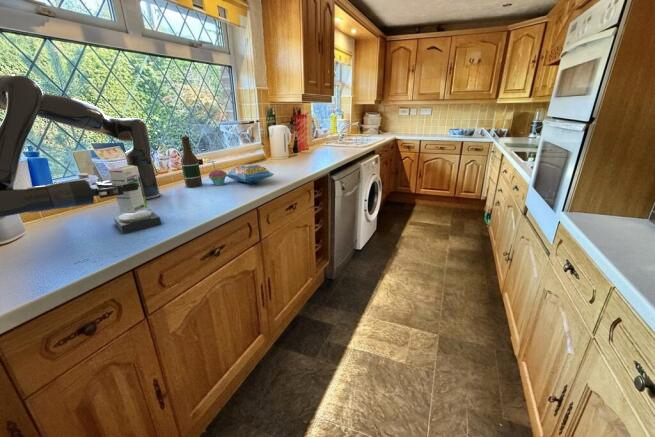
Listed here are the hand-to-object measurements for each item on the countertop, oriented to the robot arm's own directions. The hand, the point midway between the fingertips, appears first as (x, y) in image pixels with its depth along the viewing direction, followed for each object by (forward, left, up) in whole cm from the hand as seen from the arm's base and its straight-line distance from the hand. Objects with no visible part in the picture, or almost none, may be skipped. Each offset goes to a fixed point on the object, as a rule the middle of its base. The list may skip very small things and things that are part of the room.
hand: (134, 184), depth 98 cm
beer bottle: (-40, +32, -13) cm, 53 cm away
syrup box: (0, -2, -9) cm, 9 cm away
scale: (+1, -2, -13) cm, 13 cm away
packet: (-24, +55, -13) cm, 62 cm away
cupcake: (-33, +42, -13) cm, 55 cm away
